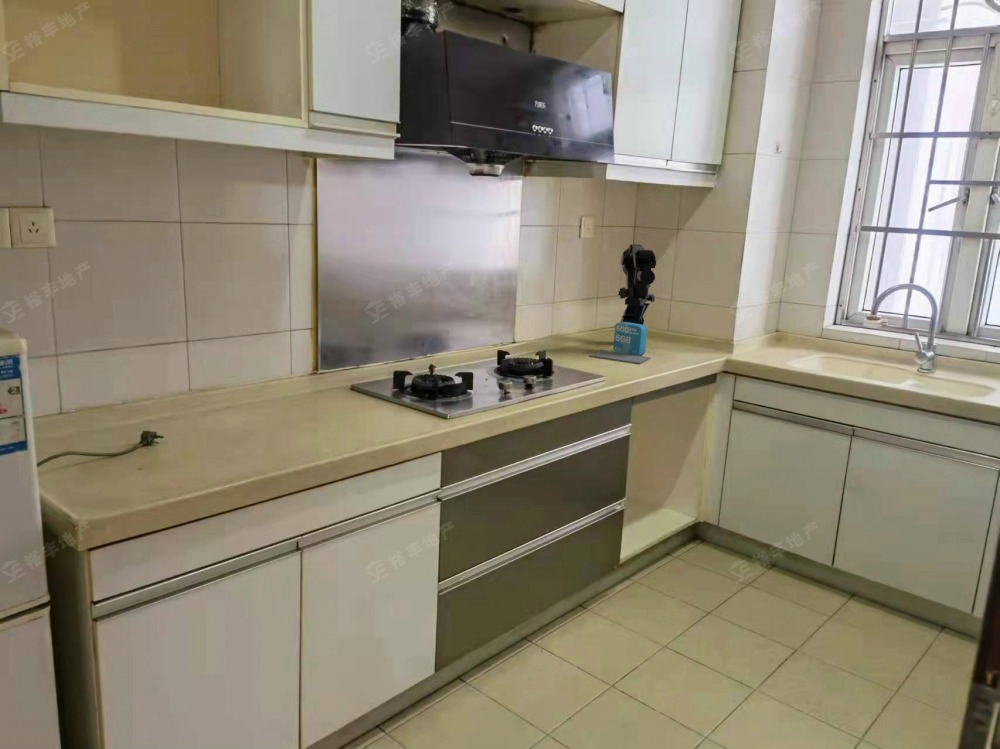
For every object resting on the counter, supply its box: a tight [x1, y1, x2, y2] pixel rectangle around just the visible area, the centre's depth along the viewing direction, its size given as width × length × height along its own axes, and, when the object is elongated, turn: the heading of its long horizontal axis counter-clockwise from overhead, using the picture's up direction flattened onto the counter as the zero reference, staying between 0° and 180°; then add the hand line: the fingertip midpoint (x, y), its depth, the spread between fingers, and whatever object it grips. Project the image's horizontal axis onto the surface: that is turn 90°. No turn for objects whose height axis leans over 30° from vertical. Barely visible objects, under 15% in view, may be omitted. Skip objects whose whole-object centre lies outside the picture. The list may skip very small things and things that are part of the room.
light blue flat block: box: [612, 321, 648, 356], centre depth 292 cm, size 12×4×12 cm, turn 48°
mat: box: [589, 349, 651, 365], centre depth 285 cm, size 12×20×1 cm, turn 60°
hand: (638, 321), depth 298 cm, fingers closed
